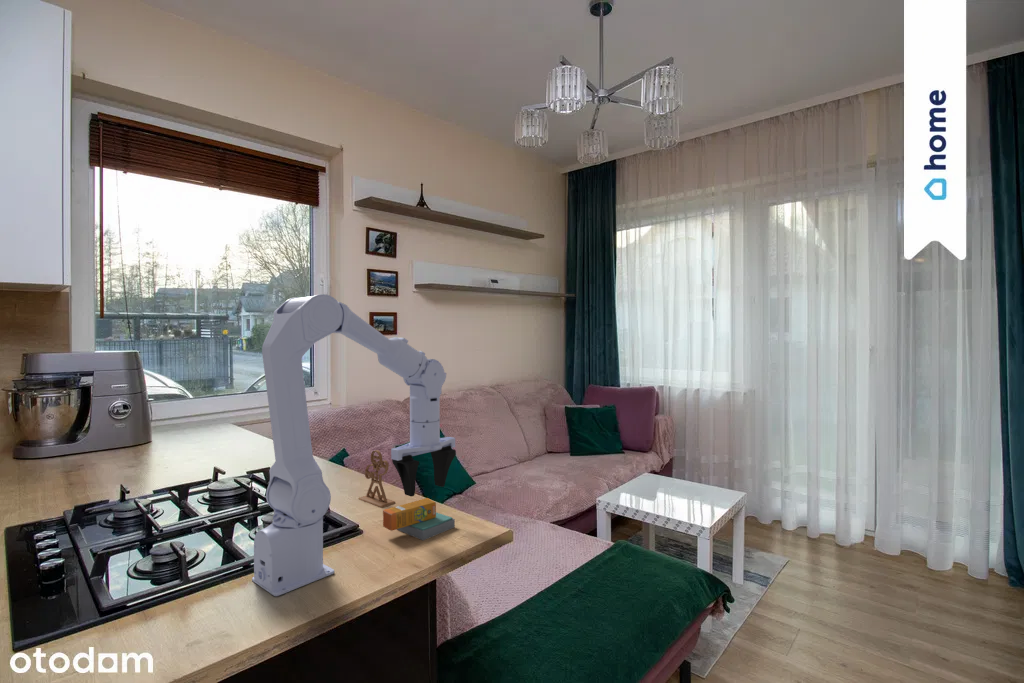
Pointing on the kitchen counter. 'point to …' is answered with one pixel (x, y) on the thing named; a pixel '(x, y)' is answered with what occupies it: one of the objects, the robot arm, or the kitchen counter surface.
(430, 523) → the podium
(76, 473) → the kitchen counter surface
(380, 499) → the brown upright openwork piece
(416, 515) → the supplement box
